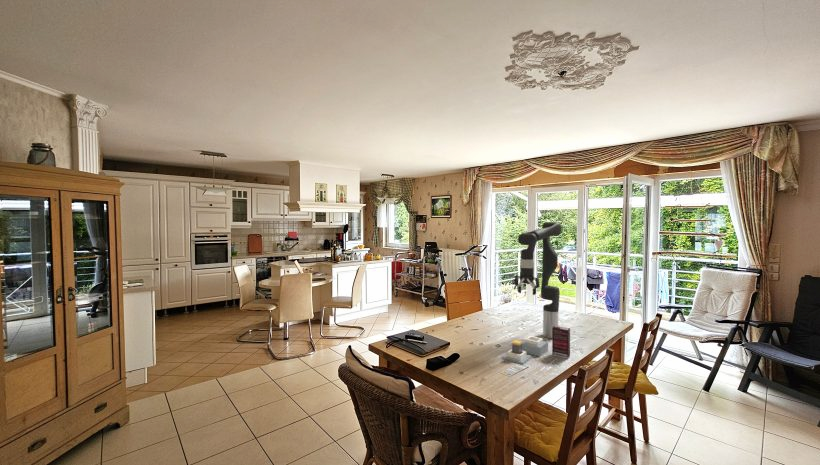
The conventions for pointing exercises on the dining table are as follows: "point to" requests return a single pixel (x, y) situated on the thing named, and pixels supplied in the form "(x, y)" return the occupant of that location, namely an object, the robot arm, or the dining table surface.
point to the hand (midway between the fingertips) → (526, 293)
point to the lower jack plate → (517, 357)
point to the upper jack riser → (534, 346)
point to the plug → (517, 347)
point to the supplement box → (561, 341)
